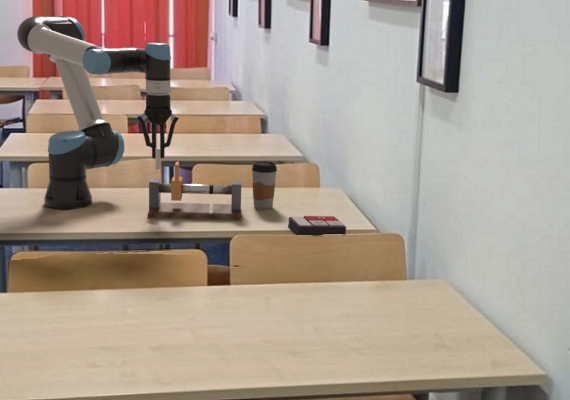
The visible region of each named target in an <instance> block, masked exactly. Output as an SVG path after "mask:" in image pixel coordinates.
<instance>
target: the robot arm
mask: <svg viewBox="0 0 570 400" xmlns="http://www.w3.org/2000/svg"><path fill="white" fill-rule="evenodd" d="M16 37H17V40H18V43H19V44H20V45H21V47H22V48H23V49H25V50H26V51H28V52H31V53H34V54H37V55H42V54H46V55H48V59H49V61H50V62H52V63H55V64H56V67H57V71H58V74H59V76H60V78H61V82H62V83H63V84H62V85H63V87H64V89H65V93H66V96H67V98H68V101H69V104H70V106H71V108H72V112H73V115H74V118H75V120H76V121H75V122H76V123H77V126H78V129H77V130H66V131H65V130H64V131H60V132H56V133H53V134H52V135H51V136H50V137H49V139H48V147H47V152H48V175H49V178H48V179H49V181H48V185H47V188H46V191H45V195H44V200H43V201H44V206H46V207H47V208H51V209H56V210H57V209H58V210H73V209H74V210H75V209H82V208H86V207H90V206H91V205H92V204H93V196H92V193H91V190H90V187H89V185H88V181H87V171H88V170H93V169H97V168H108V167H110V166H113V165H116V164H118V163H119V162H120V161H121V160H122V158H123V156H124V153H125V140H124V137H123V136H122V134H121V133H120V132H119V131H118V130H114V129H113V128H112V126H111V123H110V122H109V121H107V120H104V117H103V115H102V111H101V108H100V106H99V103H98V100H97V97H96V96H95V95H96V94H95V92H94V90H93V87H92V84H91V81H90V79H89V76H88V74H90V75H99V76H102V75H107V74H108V75H109V74H110V75H111V74H123V73H126V74H127V73H143V74H145V92H146V93H147V94H146V95H145V110H144V111H143V113H141V114H139V115H138V116H137V120H138V121H139V123H140V125H141V129H142V134H143V138H144V141H145V146H146V147H149V148H150V149H151V158H152V159H155V170H161V168H162V159H164V158H165V154H166V153H165V149H166V148H168V147H170V146H171V144H172V143H171V142H172V139H173V134H174V133H175V131H174V130H175V129H176V128H175V126H176V124H177V122H178V121H179V118H180V117H179V115H175V114H174V113H173V111H172V109H171V95H170V94H169V93H171V59H172V57H171V46H170V45H169V44H168V43H167V42H165V43H164V42H148V43H146V44H145V48H140V47H133V46H126V47H125V46H124V47H121V48H119V47H117V48H116V47H115V48H107V47H101V46H98V45H96V44H93V43H90V42H87V41H85V39H86V34H85V30H84V28H83V26H82V24H81V23H80V22H79V21H78V20H77V19H75V18H73V17H71V16H65V15H64V16H63V15H61V16H42V15H41V16H39V15H35V16H31V17H28V18H25V19H24V20H22V22H21V23H20V24H19V26H18V27H17V33H16ZM146 119H148V121H149V123H151V138H150V134H149V131H148V126H147V122H146ZM169 119H170V121H171V123H170V127H169V131H168V134H167V139H166V138H165V137H166V136H165V133H166V131H165V130H166V129H165V126H166V125H165V123H167V122H168V120H169ZM158 124H159V141H160V142H159V147H157V125H158ZM165 140H166V141H165Z"/></svg>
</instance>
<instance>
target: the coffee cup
mask: <svg viewBox="0 0 570 400" xmlns="http://www.w3.org/2000/svg"><path fill="white" fill-rule="evenodd" d="M277 168H278V167H277V164H276V163H275V162H273V161H267V160H266V161H258V160H257V161H255V162H253V164H252V166H251V171H252V172H251V173H252V197H253V206H254V208H255V209H257V210H270V209H272V207H274V197H275V189H276V177H277V171H278V169H277Z"/></svg>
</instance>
